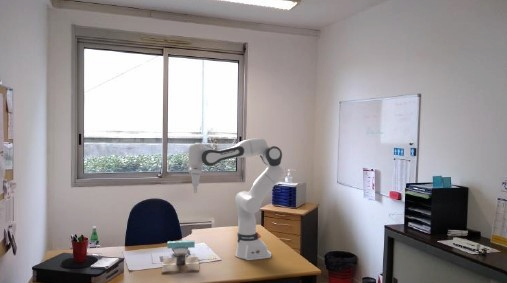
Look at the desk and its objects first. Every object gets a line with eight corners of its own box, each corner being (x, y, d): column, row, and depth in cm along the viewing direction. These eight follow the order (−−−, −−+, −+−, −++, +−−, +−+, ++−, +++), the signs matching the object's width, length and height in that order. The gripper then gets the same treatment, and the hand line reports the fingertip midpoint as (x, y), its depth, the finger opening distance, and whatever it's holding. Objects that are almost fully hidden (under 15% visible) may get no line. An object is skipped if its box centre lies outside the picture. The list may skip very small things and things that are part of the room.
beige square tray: (198, 258, 222) (198, 247, 221) (199, 272, 202) (199, 259, 202) (163, 260, 218) (164, 248, 218) (161, 273, 198) (161, 261, 198)
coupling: (167, 251, 212) (168, 240, 212) (194, 250, 215) (194, 239, 215) (167, 256, 204) (167, 244, 204) (194, 255, 207) (194, 243, 207)
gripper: (190, 167, 240) (189, 188, 240) (190, 171, 219) (190, 194, 220) (199, 167, 241) (199, 188, 241) (201, 171, 221) (200, 194, 221)
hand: (195, 191), depth 230 cm, fingers open, 8 cm apart
